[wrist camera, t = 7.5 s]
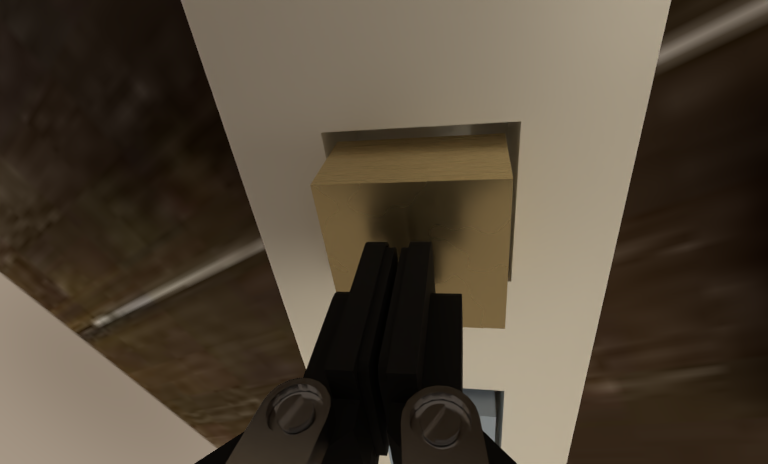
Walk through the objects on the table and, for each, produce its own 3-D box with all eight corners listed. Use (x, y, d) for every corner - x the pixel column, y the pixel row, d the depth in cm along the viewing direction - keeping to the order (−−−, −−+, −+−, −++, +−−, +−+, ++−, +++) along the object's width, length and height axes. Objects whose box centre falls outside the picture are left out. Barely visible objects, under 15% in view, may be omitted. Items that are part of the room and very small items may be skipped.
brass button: (337, 141, 13) (310, 185, 11) (504, 133, 12) (513, 178, 10) (361, 267, 16) (343, 322, 14) (499, 268, 15) (504, 328, 13)
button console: (252, -59, 15) (161, -55, 11) (621, -116, 13) (703, -143, 8) (365, 410, 31) (347, 491, 26) (541, 423, 28) (554, 515, 24)
